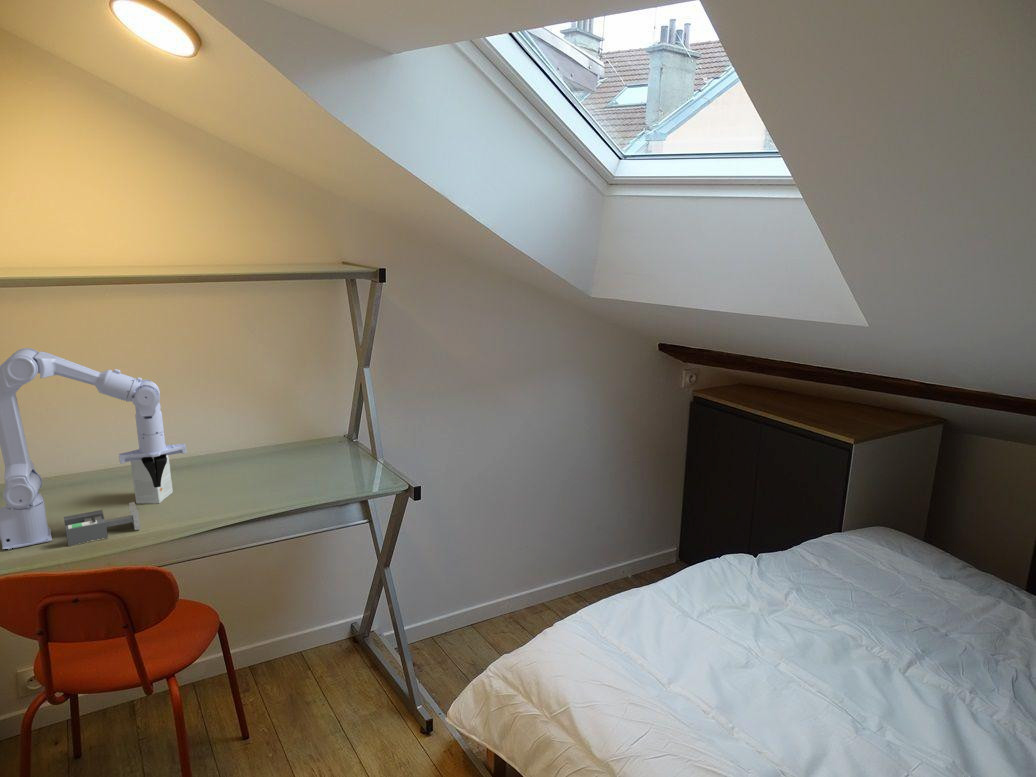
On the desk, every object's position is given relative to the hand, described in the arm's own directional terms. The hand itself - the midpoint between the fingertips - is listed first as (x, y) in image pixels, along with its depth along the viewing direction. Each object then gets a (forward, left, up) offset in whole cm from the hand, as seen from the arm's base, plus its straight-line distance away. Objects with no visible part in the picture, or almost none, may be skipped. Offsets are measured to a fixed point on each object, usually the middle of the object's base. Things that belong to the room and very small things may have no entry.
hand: (157, 485), depth 187 cm
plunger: (-10, 0, -9) cm, 14 cm away
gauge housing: (-16, 0, -9) cm, 18 cm away
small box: (+1, +18, -9) cm, 20 cm away
